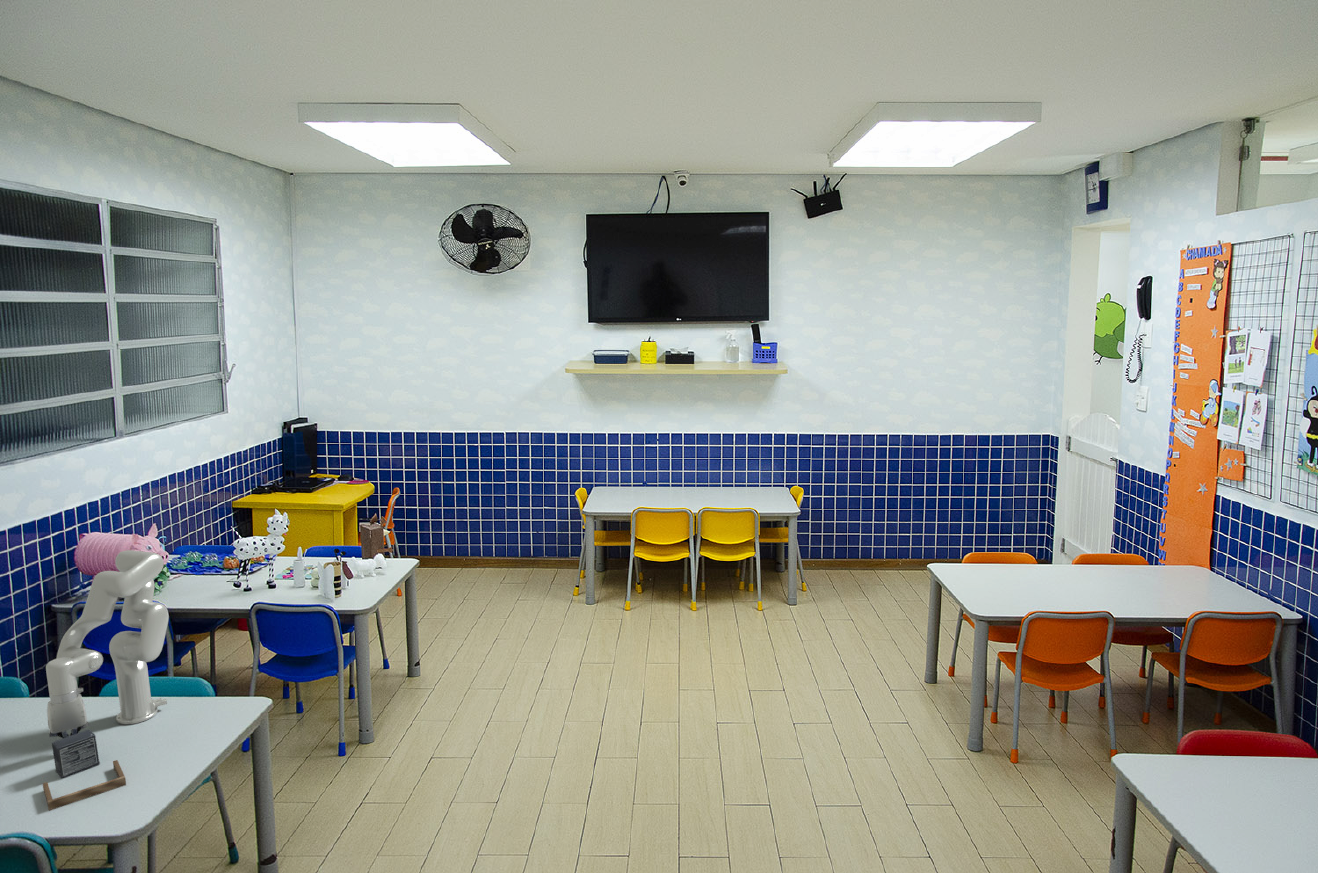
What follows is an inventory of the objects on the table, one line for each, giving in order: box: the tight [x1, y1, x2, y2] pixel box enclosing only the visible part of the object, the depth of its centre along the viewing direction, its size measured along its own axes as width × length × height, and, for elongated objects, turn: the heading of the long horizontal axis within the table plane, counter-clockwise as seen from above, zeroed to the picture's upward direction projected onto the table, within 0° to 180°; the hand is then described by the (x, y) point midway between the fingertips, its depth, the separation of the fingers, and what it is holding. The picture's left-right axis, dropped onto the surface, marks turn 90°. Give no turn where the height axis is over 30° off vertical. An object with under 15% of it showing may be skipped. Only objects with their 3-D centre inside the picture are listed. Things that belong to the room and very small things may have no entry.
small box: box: [51, 728, 101, 779], centre depth 267 cm, size 11×6×10 cm, turn 141°
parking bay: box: [42, 759, 127, 811], centre depth 257 cm, size 19×13×2 cm
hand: (71, 747), depth 277 cm, fingers closed
